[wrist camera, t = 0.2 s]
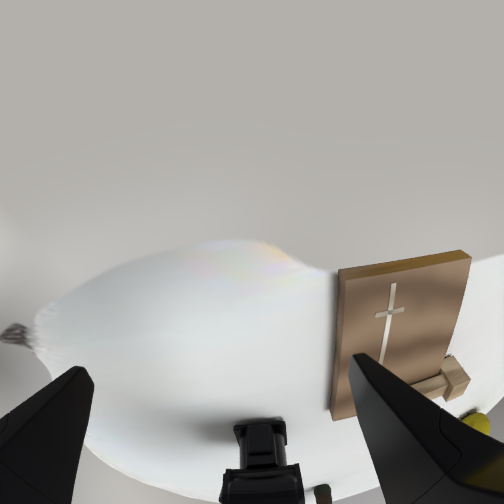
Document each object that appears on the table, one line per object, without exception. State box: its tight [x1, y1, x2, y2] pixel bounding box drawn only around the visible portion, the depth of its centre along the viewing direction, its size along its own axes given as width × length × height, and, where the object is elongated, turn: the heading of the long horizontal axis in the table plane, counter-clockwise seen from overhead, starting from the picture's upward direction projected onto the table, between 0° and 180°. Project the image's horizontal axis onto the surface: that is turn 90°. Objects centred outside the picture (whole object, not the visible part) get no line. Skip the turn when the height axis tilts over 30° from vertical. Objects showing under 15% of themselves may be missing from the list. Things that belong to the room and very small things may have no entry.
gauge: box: [410, 356, 471, 402], centre depth 25 cm, size 3×13×9 cm, turn 97°
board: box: [330, 250, 472, 421], centre depth 26 cm, size 20×14×2 cm
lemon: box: [462, 413, 490, 435], centre depth 35 cm, size 11×8×8 cm
